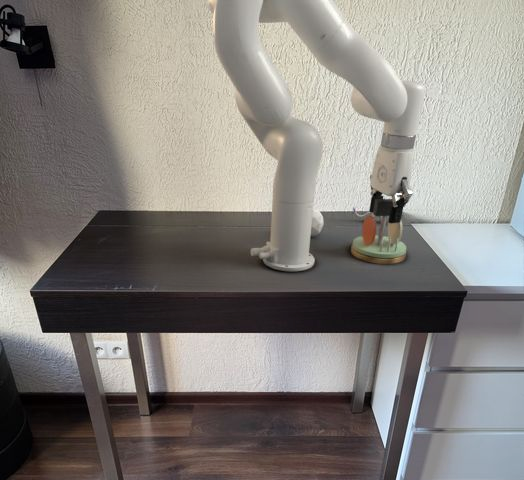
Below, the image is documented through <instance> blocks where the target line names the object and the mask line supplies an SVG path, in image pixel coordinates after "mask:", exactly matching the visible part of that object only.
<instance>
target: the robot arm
mask: <svg viewBox="0 0 524 480" xmlns="http://www.w3.org/2000/svg"><path fill="white" fill-rule="evenodd" d="M206 4H207V6H208V10H209V11H210V12H211V13H212V37H213V44H214V49H215V52H216V55H217V58H218V60H219V62H220V64H221V66H222V68H223V70H224V71H225V73H226V74H227V76H228V78H229V80H230V82H231V83H232V85H233V87H234V88H235V91H234V92H235V95H234V100H235V104H236V107H237V109H238V112H239V114H240V115H241V116H242V118H243V120H244V121H245V123H246V124H247V125H248V127H249V129H250V130H251V132H252V133H253V135H254V136H255V138H256V139H257V141H258V142H259V143H260V146H262V148H263V149H264V150H265V151H266V152H267V154H269V156H271V158H273V159H275V160H277V165H276V169H275V172H274V177H273V182H272V183H273V184H272V185H273V186H272V196H271V197H272V198H271V199H272V201H271V220H270V237H269V238H270V241H266V243H265V245H263V246H262V247H252V248H250V256H251V257H259V259H260V260H262V262H263V263H264V264H265V266H267V267H269V268H271V269H273V270H277V271H281V272H293V273H294V272H302V271H306V270H309V269H311V268H312V267H313V266H315V261H316V260H315V257H314V256H313V254H312V253H310V248H311V247H310V246H311V226H312V216H313V208H314V206H315V205H314V204H315V194H316V185H317V179H318V173H319V169H320V165H321V161H322V157H323V151H324V146H323V145H324V144H323V139H322V136H321V134H320V133H319V131H318V130H317V128H316V127H315V126H314V125H312V124H311V123H309V122H307V121H305V120H303V119H300V118H296V117H295V115H293V113H292V110H293V106H294V105H293V104H294V101H293V95H292V93H291V92H292V91H291V89H290V88H289V86H288V84H287V83H286V81H285V80H284V78H283V77H282V75H281V74H280V71H279V70H278V68H277V67H276V65H275V63H274V62H273V60H272V58H271V56H270V55H269V53H268V50H267V49H266V47H265V45H264V43H263V41H262V37H261V35H260V29H259V24H272V23H273V24H275V23H276V24H277V23H287V24H288V25H289V26H290V28H291V30H292V31H294V33H295V34H296V35H297V37H299V39H300V40H301V42H302V43H303V44H304V45H305V46H306V48H307V49H308V50H309V52H310V53H311V55H312V56H313V57H314V58H315V59H316V61H317V62H318V63H319V64H320V65H321V66H322V67H324V68H325V69H326V70H328V71H329V72H330V73H331V74H332V73H333V74H334V75H336V76H338V77H340V78H341V79H343V80H345V81H346V82H347V83H349V84H350V85H351V86H352V87H353V89H352V91H351V94H350V104H351V107H352V109H353V110H354V111H355V112H356V113H357V114H358V115H360V116H362V117H365V118H369V119H373V120H376V121H379V122H383V130H382V135H381V140H380V144H379V146H378V148H377V152H376V154H375V159H374V162H373V166H372V171H371V174H370V175H369V181H370V183H369V187H370V190H371V191H370V196H371V197H370V203H369V204H370V205H369V208H368V212H371V213H372V212H373V210H374V204H375V199H384V196H387V197H391V199H392V202H393V206H391V209H390V214H389V216H388V223H400V222H401V221H402V217H403V212H404V208H405V207H406V205H407V204H408V203H409V202H410V199H411V198H412V197H413V194H414V193H413V190H412V188H411V186H410V183H411V177H412V172H413V162H414V149H415V143H416V138H417V132H418V128H419V122H420V118H421V114H422V107H423V103H424V98H425V93H426V87H425V84H424V83H423V82H421V81H415V80H401V78H400V77H399V75H398V74H397V72H396V71H395V69H394V68H393V67H392V66H391V64H390V63H389V61H388V60H387V59H386V58H385V57H384V56H383V54H381V53H380V52H379V50H377V49H376V48H375V47H374V46H372V44H370V42H368V41H367V40H366V39H365V38H364V37H363V36H362V35H361V34H360V33H359V32H358V31H356V30H355V29H354V27H353V26H352V24H351V23H350V22H349V20H347V18H346V16H345V15H344V13H343V12H342V11H341V9H340V8H339V6H338V5H337V3H336V2H335V0H206ZM398 198H399V199H398ZM397 200H398V201H397ZM371 213H370V214H371Z"/></svg>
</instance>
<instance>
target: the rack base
mask: <svg viewBox="0 0 524 480" xmlns="http://www.w3.org/2000/svg"><path fill="white" fill-rule="evenodd" d="M350 252H351V255H352V256H354V257H355V258H357V259H359V260H362V261H364V262H367V263H372V264H379V265H392V264H398V263H401V262H403V261H404V260H405V259H406V255H407V251H406V252H405V254H404V255H402V256H399V257H394V258H379V257H372V256H368V255H365V254H362V253H360V252H358V251H356V250H355V249H354V248H353V246H352V245H351V248H350Z"/></svg>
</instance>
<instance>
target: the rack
mask: <svg viewBox="0 0 524 480" xmlns="http://www.w3.org/2000/svg"><path fill="white" fill-rule="evenodd" d="M398 200H399V199H397V201H398ZM391 206H393V202H392V198H385V199H384V198H383V199H375V204H374V210H373V214H374V215H375V216H376V217H377V216H382V219H381V222H380V224H379V230H378V235H377V224H376V221H375V217H374V218H373V217H372V216H370V215H366V216H365V217H364V220H363V222H362V230H361V231H362V235H360V236H358V237H354V239H353V240H352V244H351V246H353V248H354V249H355V250H356V251H358V252H360V253H362V254H365V255H368V256H372V257H379V258H394V257H399V256H402V255H404V254H405V252H406V253H407V245H406V244H405V243H404V242H403V241H401V239H402V235H403V222H402V220H401V222H400V223H389V222H388V223H387V218H388V217H389V214H390V209H391ZM386 224H387V236H384V234H385V230H386Z"/></svg>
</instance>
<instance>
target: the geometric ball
mask: <svg viewBox="0 0 524 480" xmlns="http://www.w3.org/2000/svg"><path fill="white" fill-rule="evenodd" d="M323 228H324V216H323V214H322V213H321V212H320V210H319V209H317V208H315V207H313V216H312V226H311V237H316V236H317V235H318V234H320V233H321V232H322V229H323ZM311 237H310V238H311Z"/></svg>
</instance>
